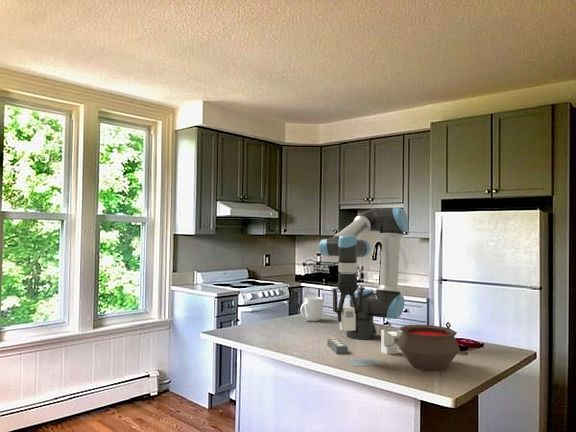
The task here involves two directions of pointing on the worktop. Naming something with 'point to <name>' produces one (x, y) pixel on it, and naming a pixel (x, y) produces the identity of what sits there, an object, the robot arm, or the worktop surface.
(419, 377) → the worktop surface
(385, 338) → the white angled block
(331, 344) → the power strip
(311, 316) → the mug
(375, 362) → the mat
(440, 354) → the brown pot
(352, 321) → the block
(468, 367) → the worktop surface
